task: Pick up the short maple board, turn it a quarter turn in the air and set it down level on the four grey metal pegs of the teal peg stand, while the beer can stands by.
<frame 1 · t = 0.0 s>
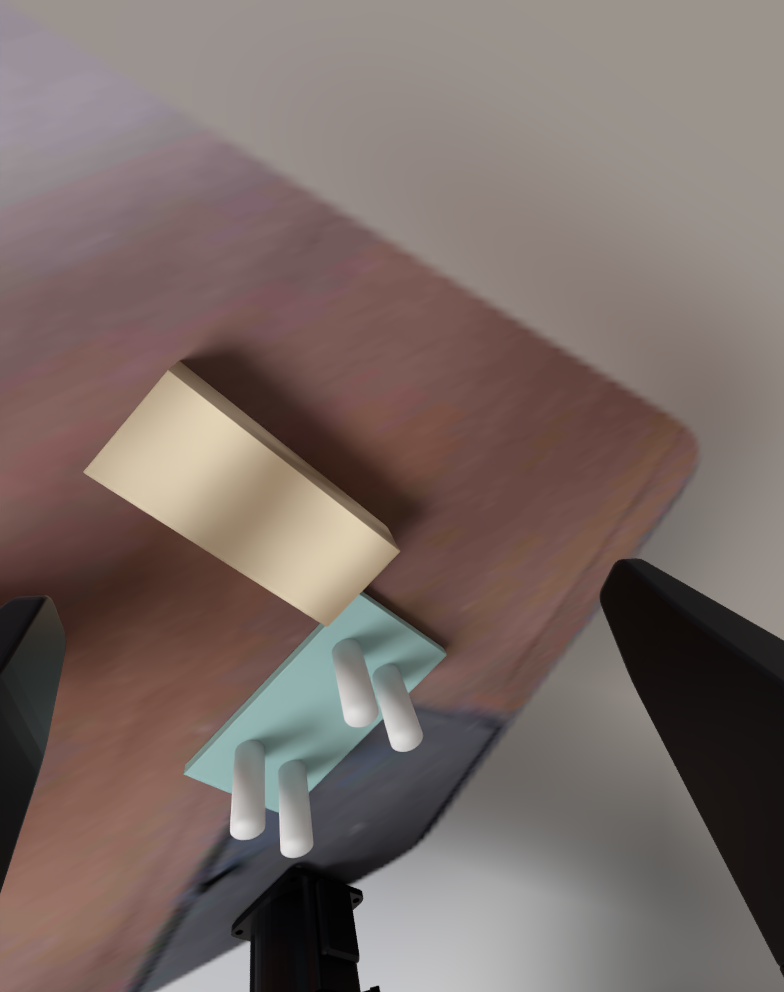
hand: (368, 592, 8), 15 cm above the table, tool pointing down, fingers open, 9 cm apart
board: (258, 490, 23), on the table
peg stand: (317, 705, 28), on the table
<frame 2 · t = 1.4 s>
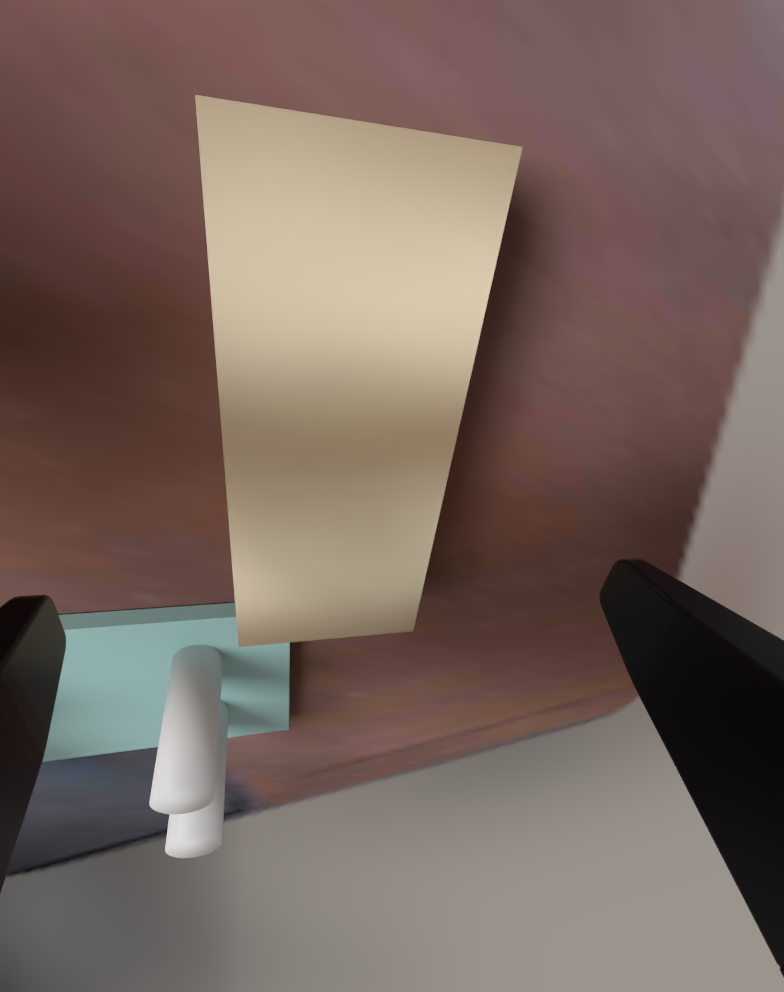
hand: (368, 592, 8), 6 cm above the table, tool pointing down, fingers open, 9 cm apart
board: (328, 401, 13), on the table
peg stand: (79, 684, 17), on the table
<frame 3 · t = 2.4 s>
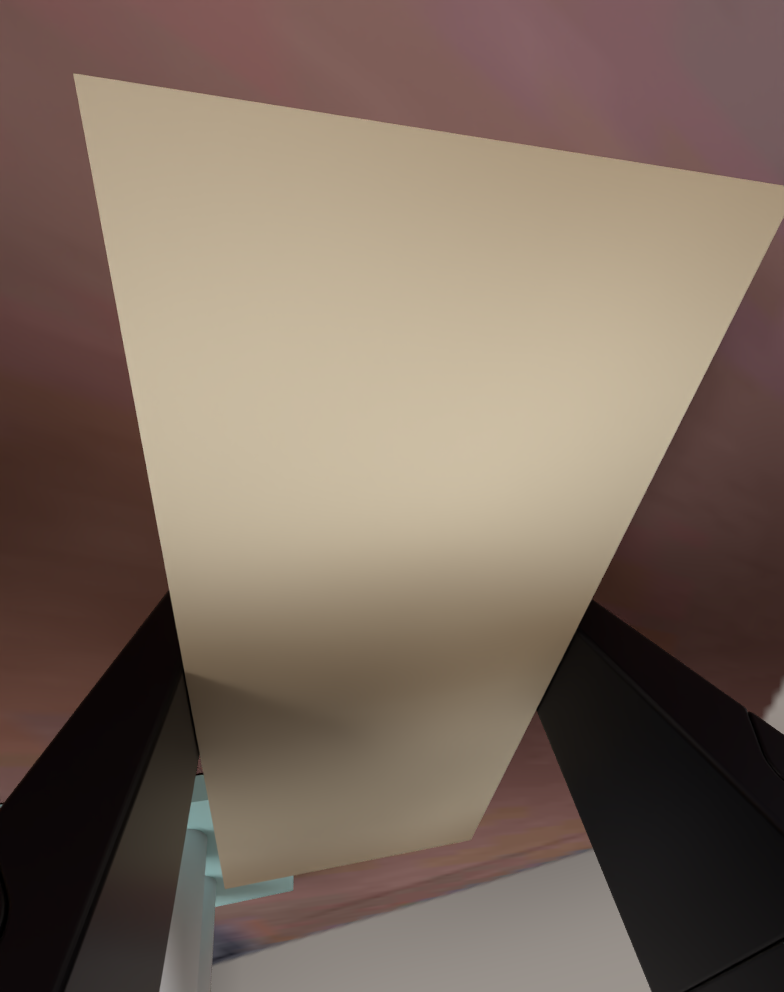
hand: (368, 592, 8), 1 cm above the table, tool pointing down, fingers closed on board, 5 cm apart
board: (356, 539, 9), on the table, touching gripper
peg stand: (17, 871, 13), on the table
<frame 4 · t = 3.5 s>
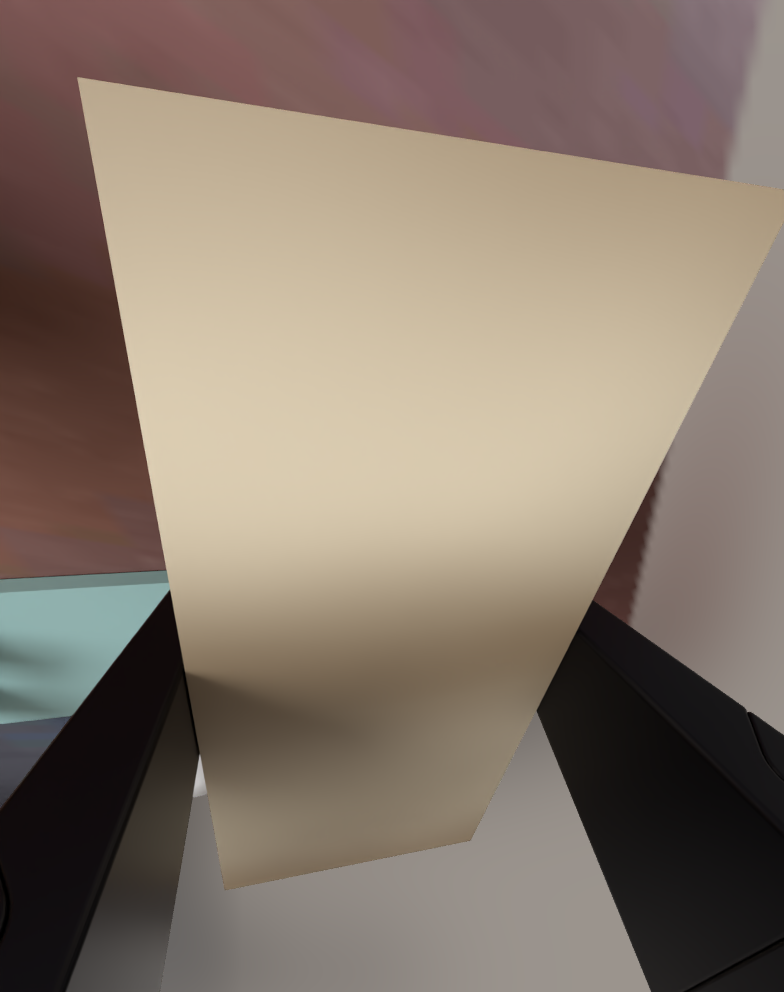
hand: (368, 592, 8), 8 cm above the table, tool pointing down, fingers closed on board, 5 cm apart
board: (356, 540, 9), point 7 cm above the table, touching gripper
peg stand: (88, 643, 19), on the table
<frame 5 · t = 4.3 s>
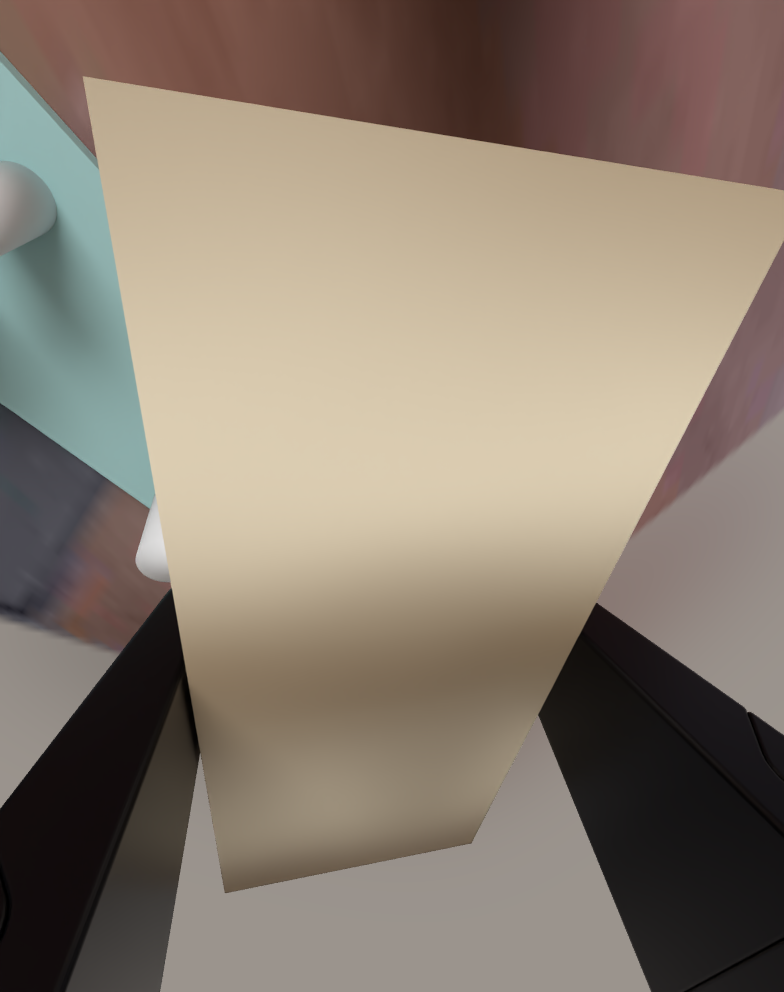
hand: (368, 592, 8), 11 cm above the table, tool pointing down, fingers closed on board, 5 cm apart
board: (358, 542, 9), point 9 cm above the table, touching gripper
peg stand: (122, 354, 15), on the table
when the fingers open (7 cm above the table, at t = 5.8 s): board stays where it is, resting on peg stand.
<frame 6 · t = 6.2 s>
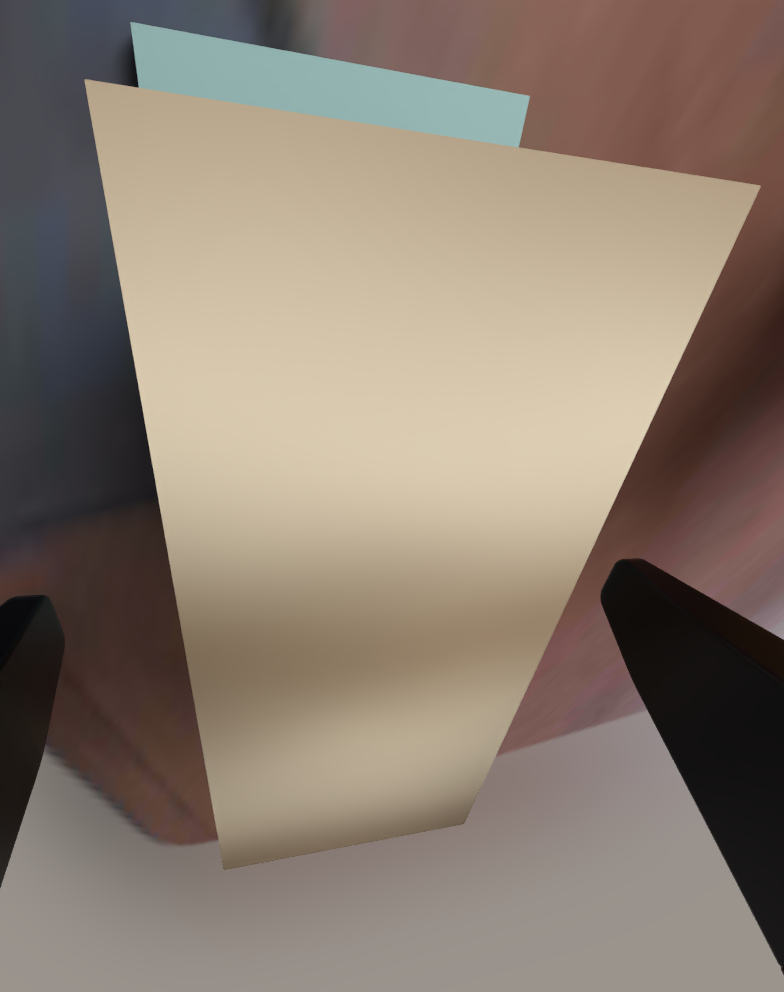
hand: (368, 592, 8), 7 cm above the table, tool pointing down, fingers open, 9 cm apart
board: (352, 528, 9), point 5 cm above the table, touching peg stand
peg stand: (326, 410, 13), on the table
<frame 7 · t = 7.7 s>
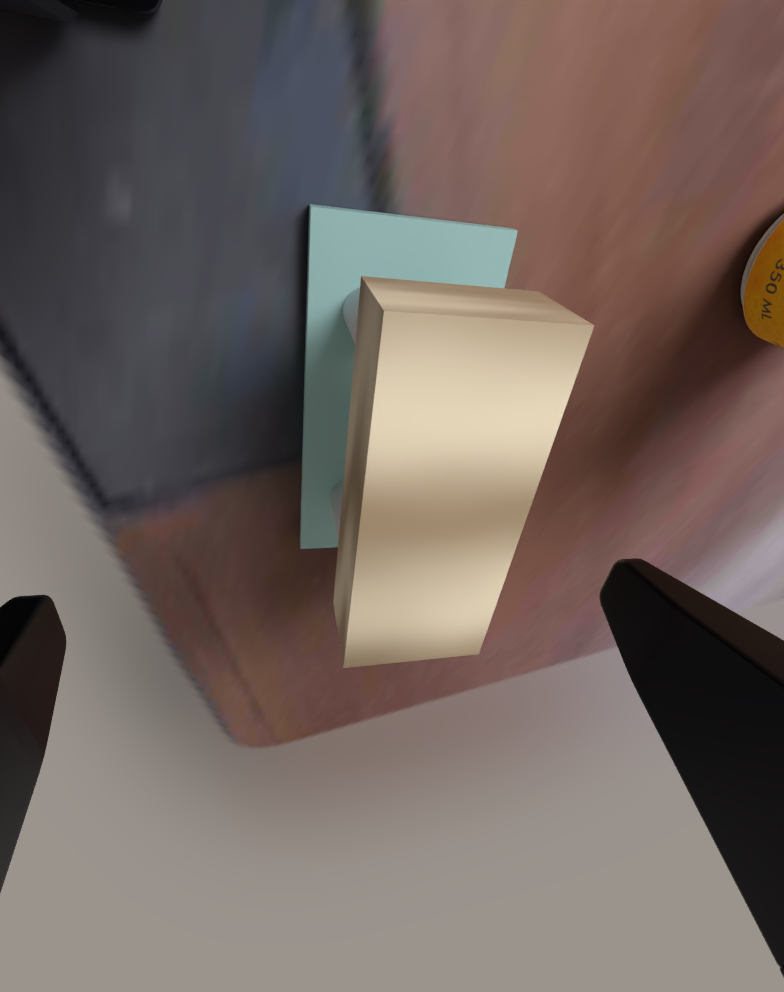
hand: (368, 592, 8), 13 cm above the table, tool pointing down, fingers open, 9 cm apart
board: (418, 472, 17), point 5 cm above the table, touching peg stand
peg stand: (389, 407, 21), on the table
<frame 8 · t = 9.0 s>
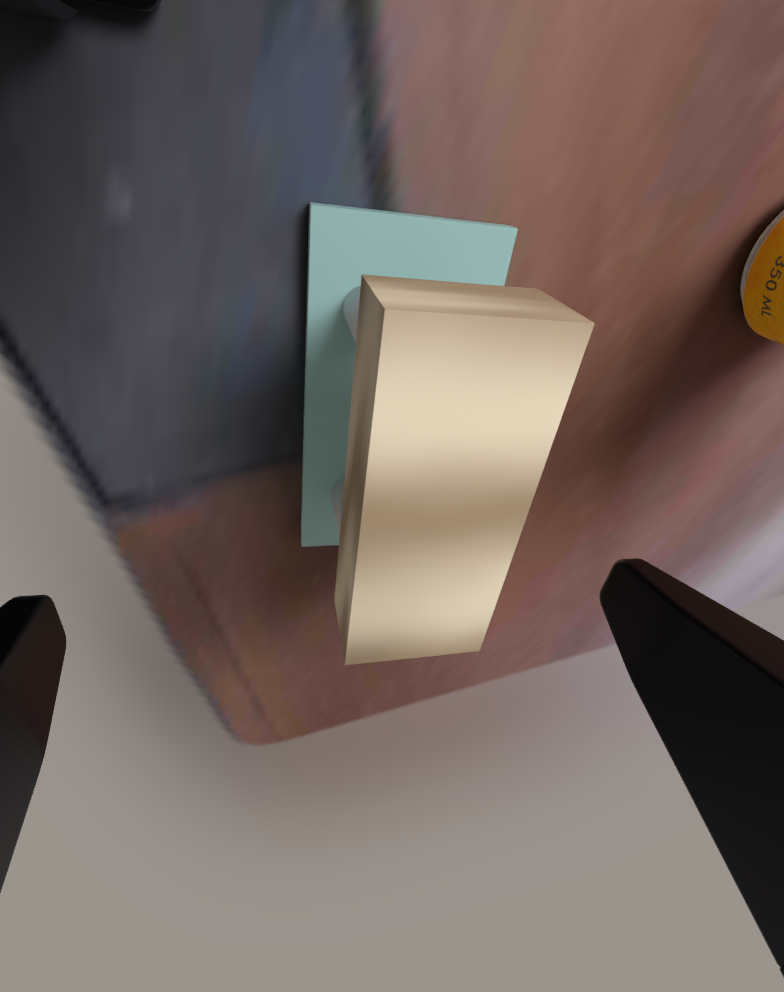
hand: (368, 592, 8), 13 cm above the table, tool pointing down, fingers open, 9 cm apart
board: (419, 470, 17), point 5 cm above the table, touching peg stand
peg stand: (389, 405, 21), on the table
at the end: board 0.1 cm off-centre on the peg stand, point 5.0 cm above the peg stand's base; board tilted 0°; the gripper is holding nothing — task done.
